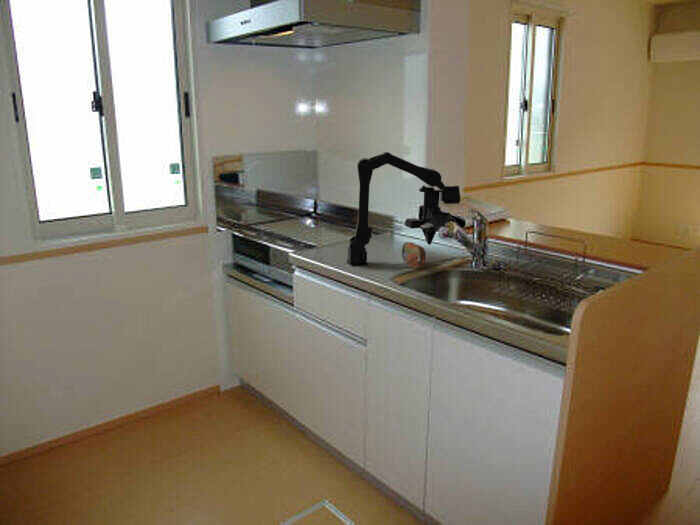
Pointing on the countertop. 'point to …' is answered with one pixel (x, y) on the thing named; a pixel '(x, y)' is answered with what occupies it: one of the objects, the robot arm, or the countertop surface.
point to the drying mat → (400, 265)
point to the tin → (413, 255)
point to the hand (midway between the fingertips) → (429, 244)
